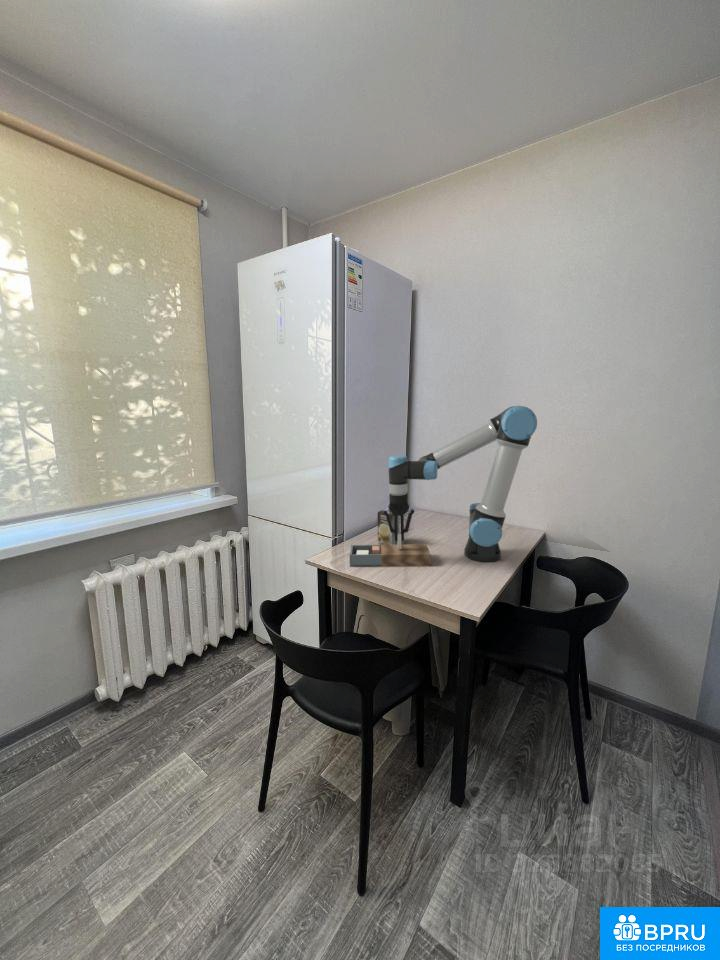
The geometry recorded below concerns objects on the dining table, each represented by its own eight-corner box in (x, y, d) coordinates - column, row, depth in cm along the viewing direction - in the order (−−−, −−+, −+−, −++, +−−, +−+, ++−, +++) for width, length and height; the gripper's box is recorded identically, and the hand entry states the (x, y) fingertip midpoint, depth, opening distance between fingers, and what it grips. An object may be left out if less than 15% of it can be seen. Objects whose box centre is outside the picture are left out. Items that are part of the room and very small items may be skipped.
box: (380, 555, 170) (380, 544, 169) (381, 566, 158) (381, 555, 157) (351, 555, 170) (351, 545, 169) (349, 566, 158) (349, 555, 157)
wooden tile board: (426, 555, 169) (426, 544, 168) (430, 566, 157) (430, 554, 156) (380, 555, 170) (380, 544, 169) (381, 566, 158) (381, 555, 157)
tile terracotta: (379, 545, 165) (372, 545, 165) (379, 550, 160) (372, 550, 160) (379, 556, 166) (372, 556, 166) (379, 561, 161) (372, 561, 161)
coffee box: (377, 544, 184) (376, 511, 181) (385, 540, 189) (385, 508, 186) (392, 548, 178) (391, 514, 175) (400, 544, 182) (400, 511, 179)
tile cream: (357, 550, 166) (357, 556, 167) (356, 554, 161) (356, 561, 162) (368, 550, 166) (368, 556, 166) (368, 554, 161) (368, 561, 162)
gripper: (413, 490, 161) (413, 544, 166) (382, 491, 162) (383, 545, 166) (415, 494, 154) (415, 550, 158) (382, 495, 155) (384, 551, 159)
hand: (399, 547), depth 162 cm, fingers closed
